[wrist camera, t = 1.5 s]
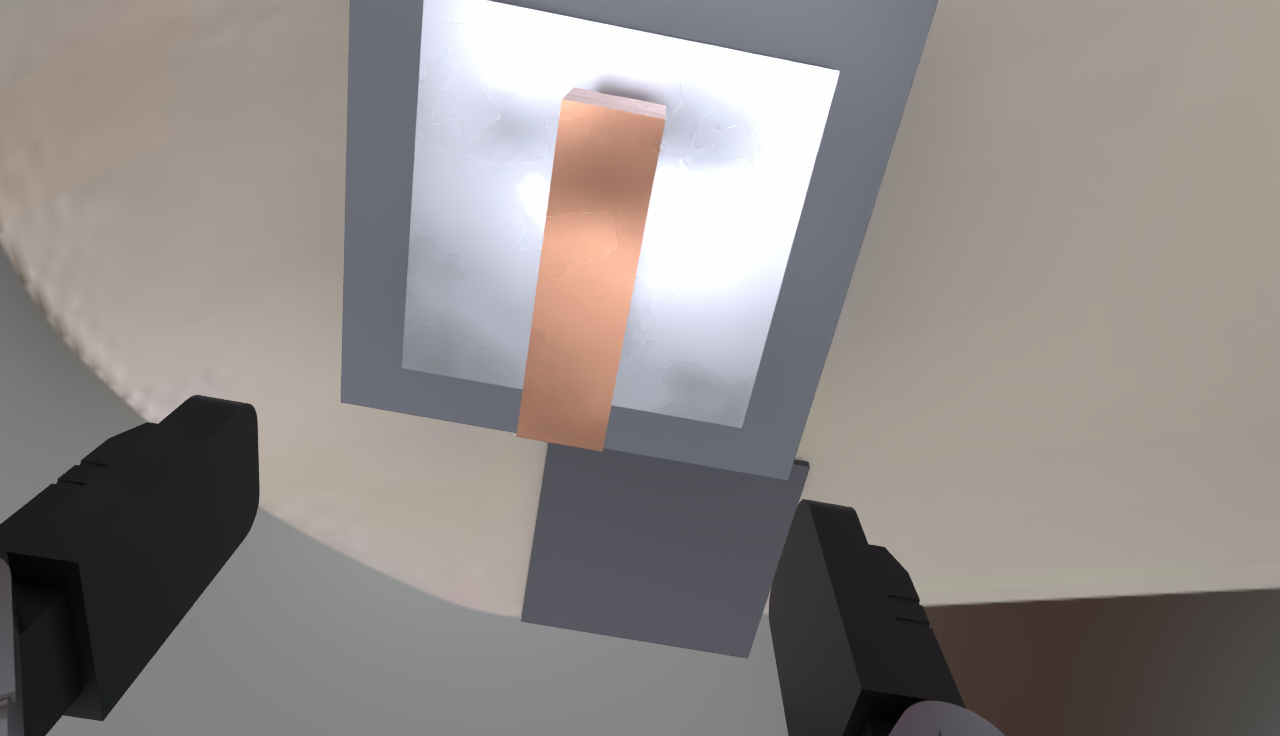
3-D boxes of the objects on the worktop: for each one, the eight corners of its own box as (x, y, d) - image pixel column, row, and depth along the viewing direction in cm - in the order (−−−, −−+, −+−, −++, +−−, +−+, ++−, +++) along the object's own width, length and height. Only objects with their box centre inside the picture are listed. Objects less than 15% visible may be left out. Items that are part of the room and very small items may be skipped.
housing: (887, -5, 28) (939, -6, 23) (769, 406, 35) (787, 480, 30) (415, -103, 27) (352, -128, 22) (392, 339, 35) (340, 402, 29)
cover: (817, 61, 26) (889, 91, 18) (733, 380, 31) (758, 524, 23) (457, -11, 26) (351, -16, 17) (431, 326, 31) (340, 452, 22)
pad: (808, 462, 37) (809, 467, 36) (747, 652, 42) (747, 658, 41) (553, 417, 36) (551, 421, 36) (522, 616, 41) (521, 621, 41)
